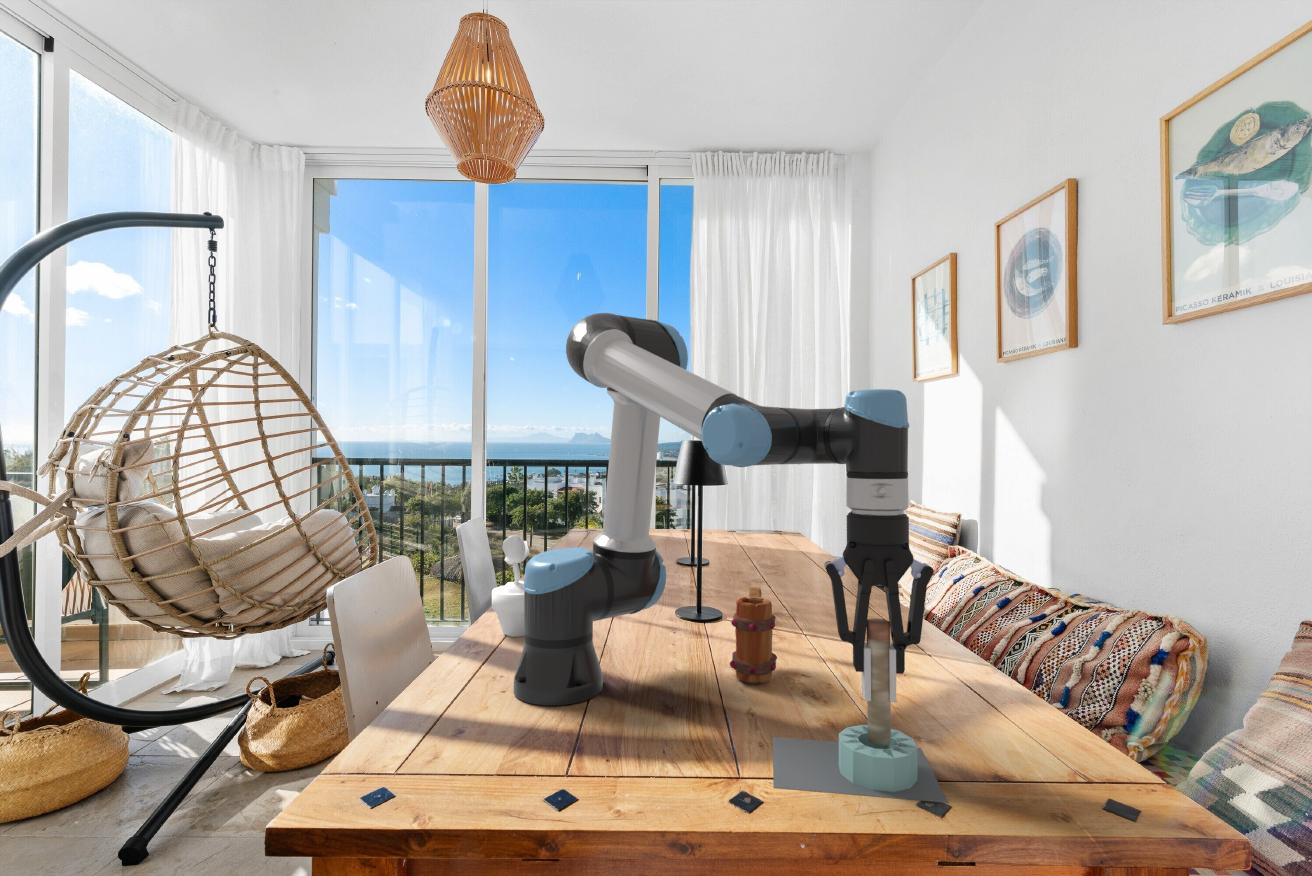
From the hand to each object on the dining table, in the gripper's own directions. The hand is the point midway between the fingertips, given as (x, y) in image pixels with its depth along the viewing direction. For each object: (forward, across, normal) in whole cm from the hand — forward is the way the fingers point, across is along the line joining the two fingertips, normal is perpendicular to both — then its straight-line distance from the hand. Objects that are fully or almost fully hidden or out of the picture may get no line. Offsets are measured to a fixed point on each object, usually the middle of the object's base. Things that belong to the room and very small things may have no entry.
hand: (878, 697), depth 84 cm
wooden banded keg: (+10, -16, +35) cm, 40 cm away
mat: (+10, -3, +1) cm, 11 cm away
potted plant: (+10, -68, +53) cm, 87 cm away
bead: (+9, 0, 0) cm, 10 cm away
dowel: (+5, 0, 0) cm, 5 cm away
